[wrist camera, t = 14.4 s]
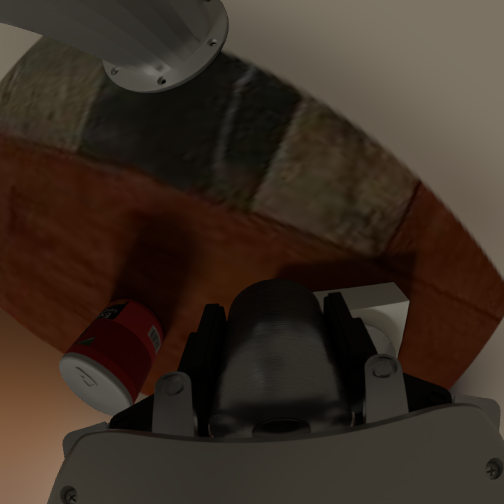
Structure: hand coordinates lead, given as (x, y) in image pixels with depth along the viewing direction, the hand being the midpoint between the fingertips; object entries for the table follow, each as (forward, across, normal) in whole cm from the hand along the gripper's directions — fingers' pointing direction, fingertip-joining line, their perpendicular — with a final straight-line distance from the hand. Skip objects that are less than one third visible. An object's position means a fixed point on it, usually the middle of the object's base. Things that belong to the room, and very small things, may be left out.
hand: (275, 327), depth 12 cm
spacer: (+1, 0, 0) cm, 1 cm away
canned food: (+14, +16, +9) cm, 23 cm away
